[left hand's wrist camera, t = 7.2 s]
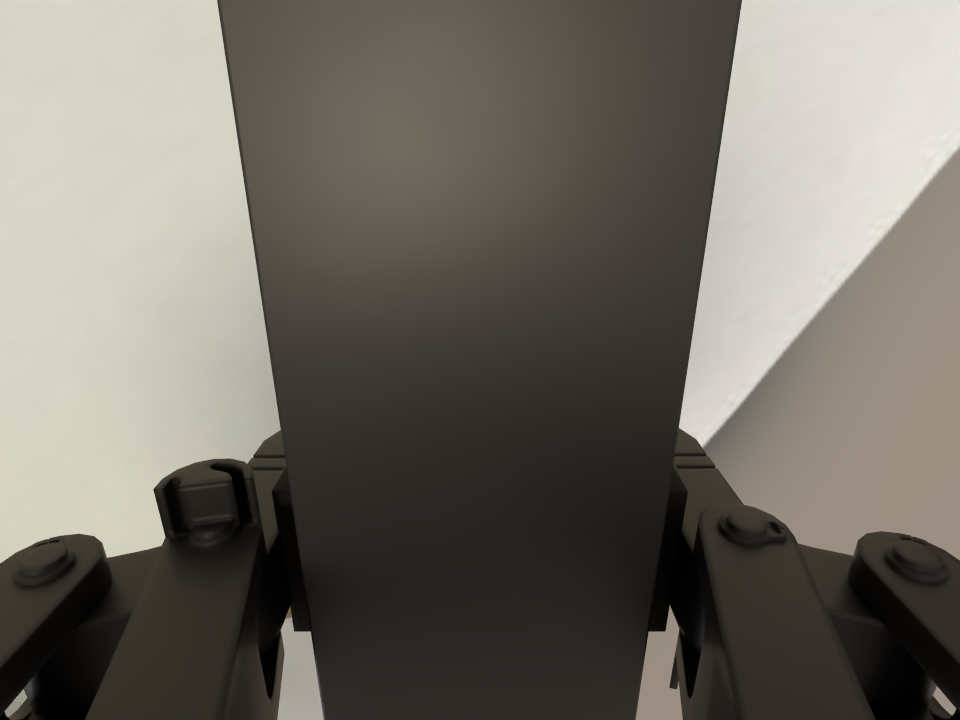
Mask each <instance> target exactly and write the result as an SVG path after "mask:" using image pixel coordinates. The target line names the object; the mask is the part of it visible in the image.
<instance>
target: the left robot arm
mask: <svg viewBox="0 0 960 720" xmlns="http://www.w3.org/2000/svg"><path fill="white" fill-rule="evenodd" d="M154 493H155V497H156V501H157V505H158V509H159V513H160V517H161V521H162V525H163V529H164V533H165V536H166V538H165V540H164V542H163V544H162V546H160V547H156V548H152V549H149V550H144V551H139V552H135V553H130V554H125V555H120V556H115V557H110V558H107V557H106V554H105V551H104V547H103V544H102V542H100V541H99V540H98V539H97V538H95V537H94V536H89V535H83V534H74V535H65V536H58V537H53V538H50V539H48V540H47V539H46V540H43V541H40V542H37V543H35V544H33V545H31V546H29V547H27V548H25V549H23V550H21V551H19V552H17V553H15V554H14V555H12V556H11V557H9V558H8V559H6V560H5V561H3V562H2V563H1V564H0V720H277V716H278V707H279V698H280V689H281V679H282V670H283V661H284V647H283V641H282V635H281V628H282V625H283V623H284V620H285V618H286V615H287V613H288V611H289V608H291V614H292V620H293V626H294V631H311V629H310V622H309V615H308V608H307V602H306V595H305V588H304V581H303V575H302V568H301V561H300V554H299V548H298V541H297V534H296V528H295V521H294V514H293V507H292V501H291V494H290V487H289V480H288V474H287V467H286V460H285V453H284V447H283V440H282V433H281V430H280V431H279V432H277V433H276V434H274V435H272V436H271V437H269V438H268V439H266V440H265V441H264V442H263V443H262V445H261V446H260V447H259V449H258V450H257V451H256V453H255V454H254V458H251V460H250V461H249V462H248V464H246V463H245V462H243V461H238V460H234V459H212V460H207V461H202V462H197V463H194V464H191V465H188V466H186V467H183V468H180V469H178V470H176V471H174V472H173V473H171V474H170V475H168V476H166V477H165V478H163V479H162V480H161V481H160V482H159V484H158V485H157V486H156V487H155V488H154ZM669 606H671V609H672V611H673V613H674V616H675V618H676V621H677V623H678V626H679V628H680V629H679V635H678V641H677V646H676V652H675V658H674V664H673V669H672V675H671V682H670V688H673V689H677V686H678V681H679V687H680V696H681V705H682V715H683V720H960V561H959V560H958V559H956V558H955V557H954V556H952V555H951V554H949V553H948V552H946V551H945V550H943V549H941V548H939V547H937V546H935V545H932V544H930V543H928V542H927V541H925V540H922V539H919V538H916V537H911V536H910V535H905V534H900V533H891V532H882V531H881V532H874V533H868V534H866V535H864V536H863V537H862V538H861V539H859V540H858V542H857V546H856V549H855V552H854V555H853V556H852V555H847V554H842V553H837V552H832V551H827V550H822V549H818V548H813V547H809V546H805V545H801V544H798V543H797V541H796V539H795V537H794V535H793V534H792V533H791V531H790V530H789V529H788V527H787V526H786V525H785V524H784V523H782V522H781V521H779V520H778V519H777V518H775V517H774V516H773V515H771V514H768V513H766V512H764V511H762V510H759V509H757V508H755V507H750V506H746V505H744V504H743V503H742V502H741V500H740V499H739V498H738V496H737V495H736V494H735V492H734V491H733V489H732V488H731V487H730V485H729V484H728V483H727V481H726V480H725V478H724V477H723V476H722V474H721V473H720V472H719V470H718V469H715V465H714V463H713V462H712V461H711V459H710V458H709V457H708V456H706V452H705V451H704V450H703V448H702V447H701V446H700V444H699V443H698V441H697V440H696V439H695V438H693V437H692V436H690V435H689V434H687V433H686V432H684V431H683V430H681V429H679V428H678V435H677V442H676V449H675V455H674V462H673V469H672V476H671V482H670V489H669V496H668V503H667V509H666V516H665V523H664V530H663V536H662V543H661V550H660V557H659V563H658V570H657V577H656V584H655V591H654V597H653V604H652V611H651V618H650V624H649V631H665V630H666V624H667V618H668V612H669ZM937 686H938V687H939V689H940V690H941V691H942V692H943V693H944V694H945V696H946V697H947V698H948V699H949V700H950V702H951V703H952V704H953V705H954V706H955V707H956V711H955V713H954V714H953V716H952V715H950V714H949V713H948V712H947V711H946V710H945V709H944V708H943V707H942V706H941V705H940V704H939V703H938V701H937V700H936V699H935V698H934V697H933V694H934V692H935V689H936V687H937ZM23 689H24V690H25V693H26V695H27V699H26V701H25V702H24V703H23V704H22V705H21V707H20V708H19V709H18V710H17V711H16V712H15V713H13V714H12V715H11V716H10V717H9V718H8V717H7V716H6V715H5V712H4V711H5V710H6V709H7V708H8V706H9V705H10V704H11V703H12V702H13V701H14V699H15V698H16V697H17V696H18V695H19V693H20V692H21V691H22V690H23Z"/></svg>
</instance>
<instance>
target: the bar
mask: <svg viewBox="0 0 960 720" xmlns="http://www.w3.org/2000/svg"><path fill="white" fill-rule="evenodd" d="M217 2H218V9H219V15H220V22H221V29H222V36H223V42H224V49H225V56H226V63H227V69H228V76H229V83H230V89H231V96H232V103H233V110H234V116H235V123H236V130H237V137H238V143H239V150H240V157H241V164H242V170H243V177H244V184H245V191H246V197H247V204H248V211H249V218H250V224H251V231H252V238H253V244H254V251H255V258H256V265H257V271H258V278H259V285H260V292H261V298H262V305H263V312H264V319H265V325H266V332H267V339H268V346H269V352H270V359H271V366H272V373H273V379H274V386H275V393H276V399H277V406H278V413H279V420H280V426H281V433H282V440H283V447H284V453H285V460H286V467H287V474H288V480H289V487H290V494H291V501H292V507H293V514H294V521H295V528H296V534H297V541H298V548H299V554H300V561H301V568H302V575H303V581H304V588H305V595H306V602H307V608H308V615H309V622H310V629H311V635H312V642H313V649H314V656H315V662H316V669H317V676H318V683H319V689H320V696H321V703H322V709H323V716H324V720H635V719H636V712H637V705H638V699H639V692H640V685H641V678H642V672H643V665H644V658H645V651H646V645H647V638H648V631H649V624H650V618H651V611H652V604H653V597H654V591H655V584H656V577H657V570H658V563H659V557H660V550H661V543H662V536H663V530H664V523H665V516H666V509H667V503H668V496H669V489H670V482H671V476H672V469H673V462H674V455H675V449H676V442H677V435H678V428H679V422H680V415H681V408H682V401H683V395H684V388H685V381H686V374H687V368H688V361H689V354H690V347H691V341H692V334H693V327H694V320H695V314H696V307H697V300H698V293H699V286H700V280H701V273H702V266H703V259H704V253H705V246H706V239H707V232H708V226H709V219H710V212H711V205H712V199H713V192H714V185H715V178H716V172H717V165H718V158H719V151H720V145H721V138H722V131H723V124H724V118H725V111H726V104H727V97H728V91H729V84H730V77H731V70H732V64H733V57H734V50H735V43H736V37H737V30H738V23H739V16H740V9H741V3H742V0H217Z"/></svg>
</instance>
